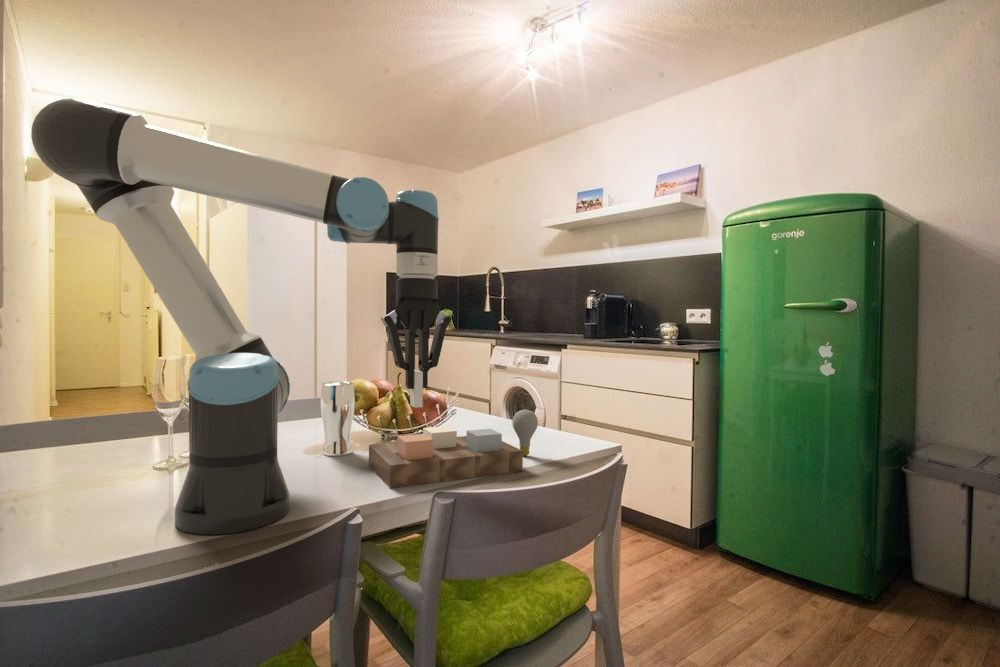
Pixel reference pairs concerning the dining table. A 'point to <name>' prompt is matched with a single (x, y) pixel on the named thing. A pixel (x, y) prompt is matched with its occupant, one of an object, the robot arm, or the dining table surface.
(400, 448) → the key terracotta
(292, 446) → the dining table surface
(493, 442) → the key slate
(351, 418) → the beer glass
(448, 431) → the key ivory
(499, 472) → the brown wooden base
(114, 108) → the robot arm
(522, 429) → the light bulb
